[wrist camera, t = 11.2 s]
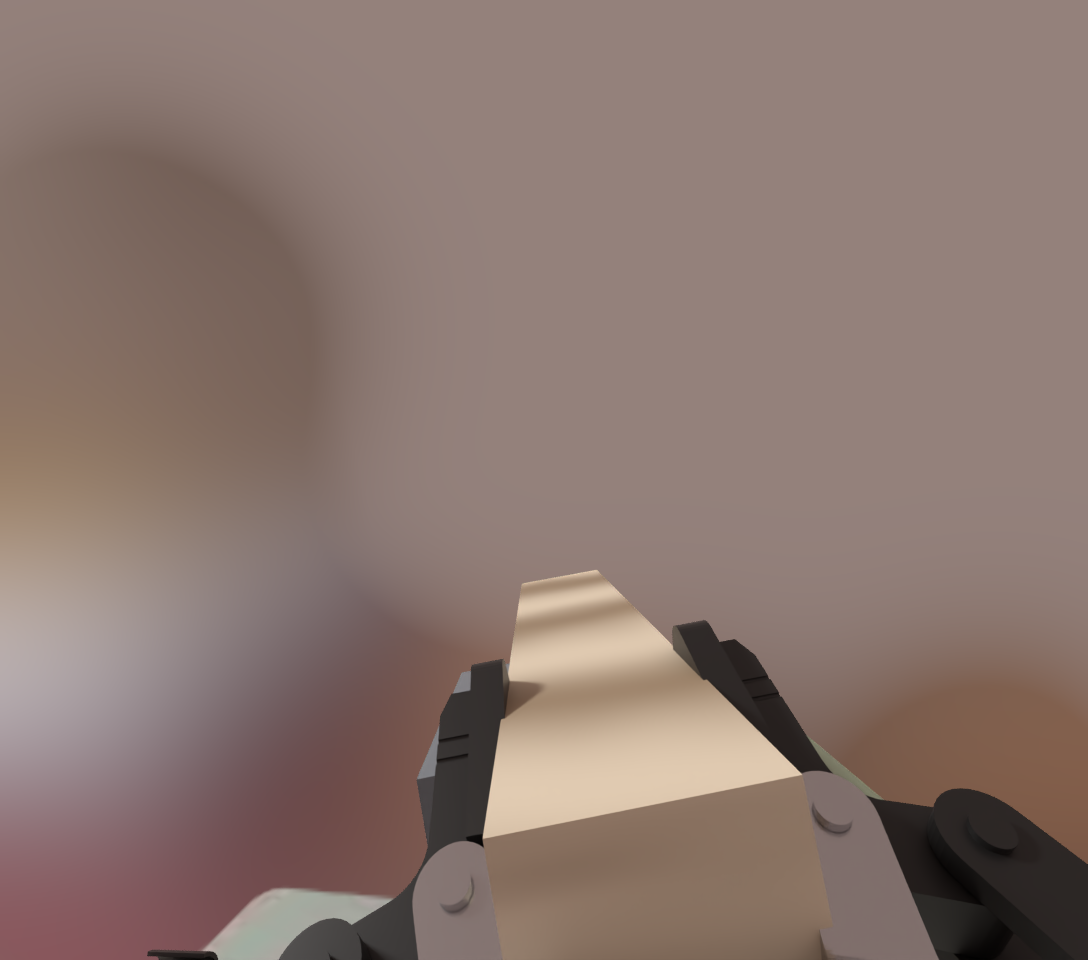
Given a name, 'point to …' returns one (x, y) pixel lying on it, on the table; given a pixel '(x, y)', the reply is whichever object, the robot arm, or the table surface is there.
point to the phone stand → (183, 955)
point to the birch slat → (638, 800)
